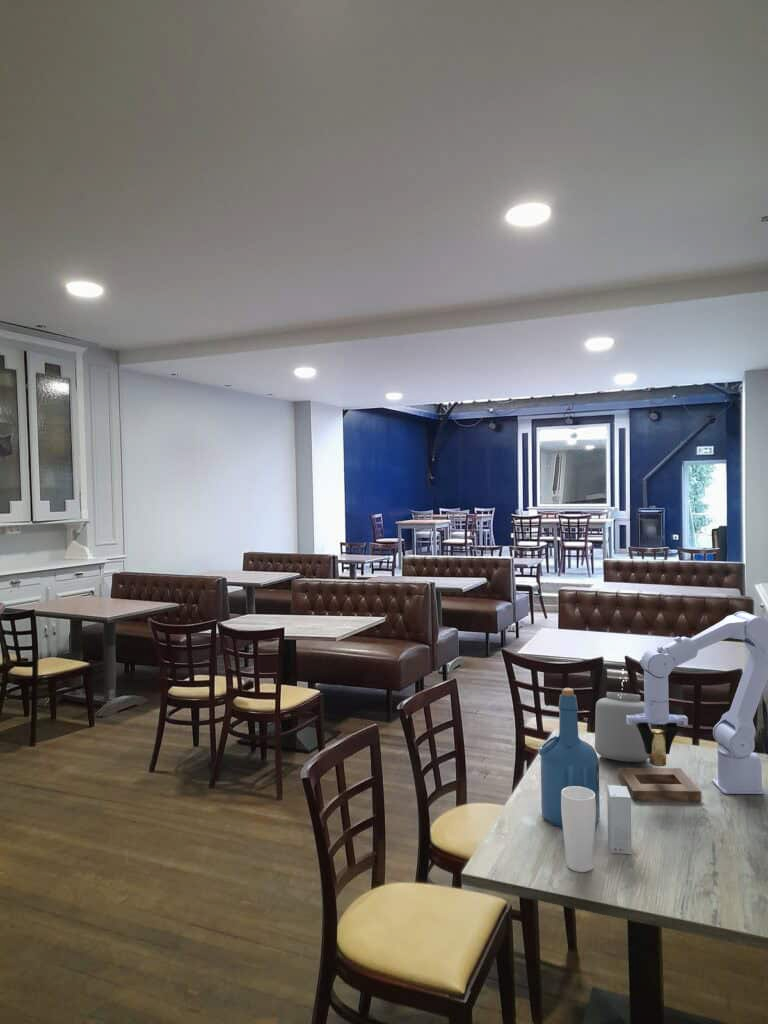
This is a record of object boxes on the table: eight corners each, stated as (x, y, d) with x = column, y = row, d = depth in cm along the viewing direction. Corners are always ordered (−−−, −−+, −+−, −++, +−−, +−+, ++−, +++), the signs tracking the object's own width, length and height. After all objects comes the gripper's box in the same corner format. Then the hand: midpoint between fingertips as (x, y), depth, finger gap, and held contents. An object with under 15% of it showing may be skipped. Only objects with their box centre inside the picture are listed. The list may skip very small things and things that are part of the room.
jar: (602, 743, 205) (601, 660, 205) (655, 751, 199) (654, 664, 198) (590, 766, 189) (588, 676, 188) (647, 775, 182) (646, 681, 181)
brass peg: (662, 759, 175) (662, 728, 175) (669, 766, 171) (668, 734, 171) (646, 760, 175) (646, 729, 175) (653, 766, 171) (652, 735, 171)
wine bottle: (603, 810, 162) (601, 684, 162) (595, 836, 150) (593, 700, 150) (545, 801, 168) (543, 679, 168) (533, 825, 156) (530, 693, 156)
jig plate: (680, 777, 180) (680, 768, 180) (701, 801, 166) (701, 791, 166) (617, 777, 181) (617, 767, 181) (633, 800, 167) (633, 790, 167)
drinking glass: (557, 858, 142) (556, 786, 141) (589, 856, 142) (588, 784, 142) (569, 876, 135) (567, 801, 135) (602, 874, 135) (601, 799, 135)
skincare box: (632, 855, 142) (631, 797, 142) (610, 853, 143) (609, 796, 143) (628, 840, 148) (627, 785, 148) (607, 839, 149) (606, 784, 149)
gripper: (631, 703, 169) (632, 758, 170) (692, 703, 168) (692, 758, 169) (623, 695, 176) (624, 748, 177) (681, 695, 175) (682, 748, 176)
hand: (657, 752), depth 173 cm, fingers closed on brass peg, 4 cm apart
